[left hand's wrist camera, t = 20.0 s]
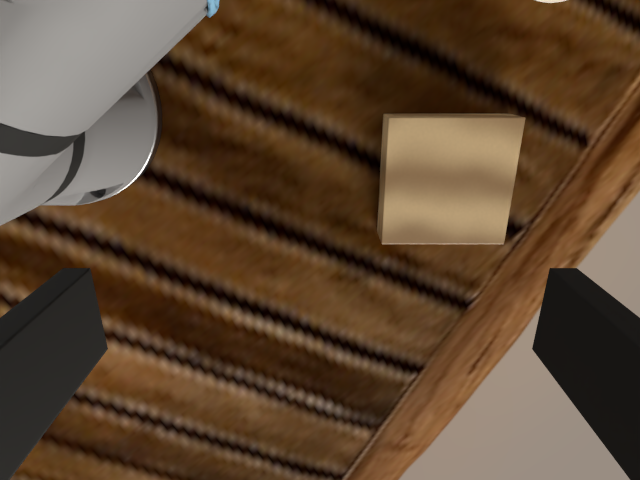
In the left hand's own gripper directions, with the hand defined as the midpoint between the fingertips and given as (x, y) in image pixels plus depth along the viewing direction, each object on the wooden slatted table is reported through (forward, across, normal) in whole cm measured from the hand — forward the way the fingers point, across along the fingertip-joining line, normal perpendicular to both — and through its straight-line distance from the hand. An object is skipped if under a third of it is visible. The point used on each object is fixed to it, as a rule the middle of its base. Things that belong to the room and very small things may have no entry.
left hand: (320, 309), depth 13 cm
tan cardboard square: (+25, +10, -2) cm, 27 cm away
